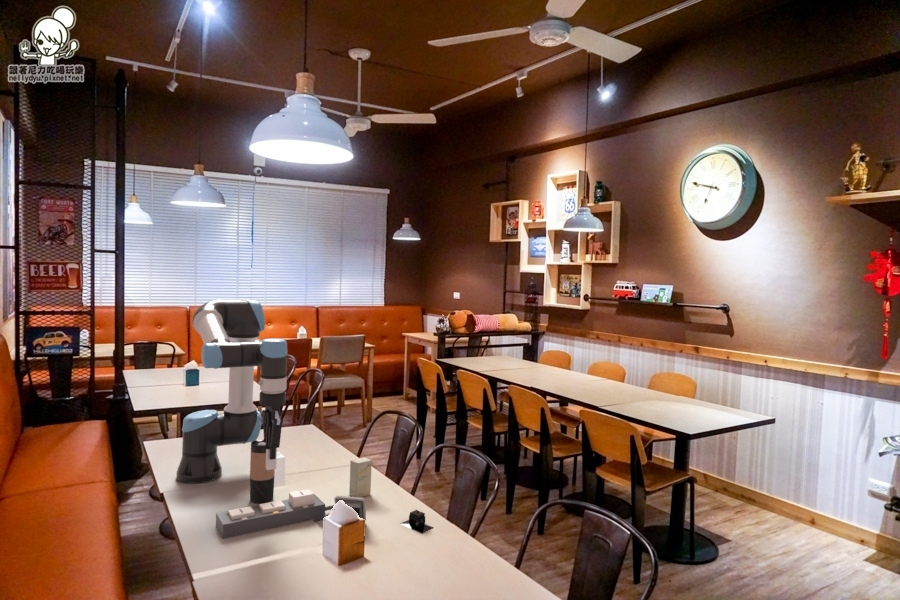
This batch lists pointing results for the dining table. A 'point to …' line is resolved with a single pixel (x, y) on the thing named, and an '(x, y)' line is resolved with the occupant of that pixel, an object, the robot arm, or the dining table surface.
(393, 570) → the dining table surface
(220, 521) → the power strip
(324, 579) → the dining table surface
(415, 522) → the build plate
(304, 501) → the button
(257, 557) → the dining table surface
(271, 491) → the travel mug
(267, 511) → the button
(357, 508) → the electrical switch
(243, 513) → the button
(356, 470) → the skincare box
